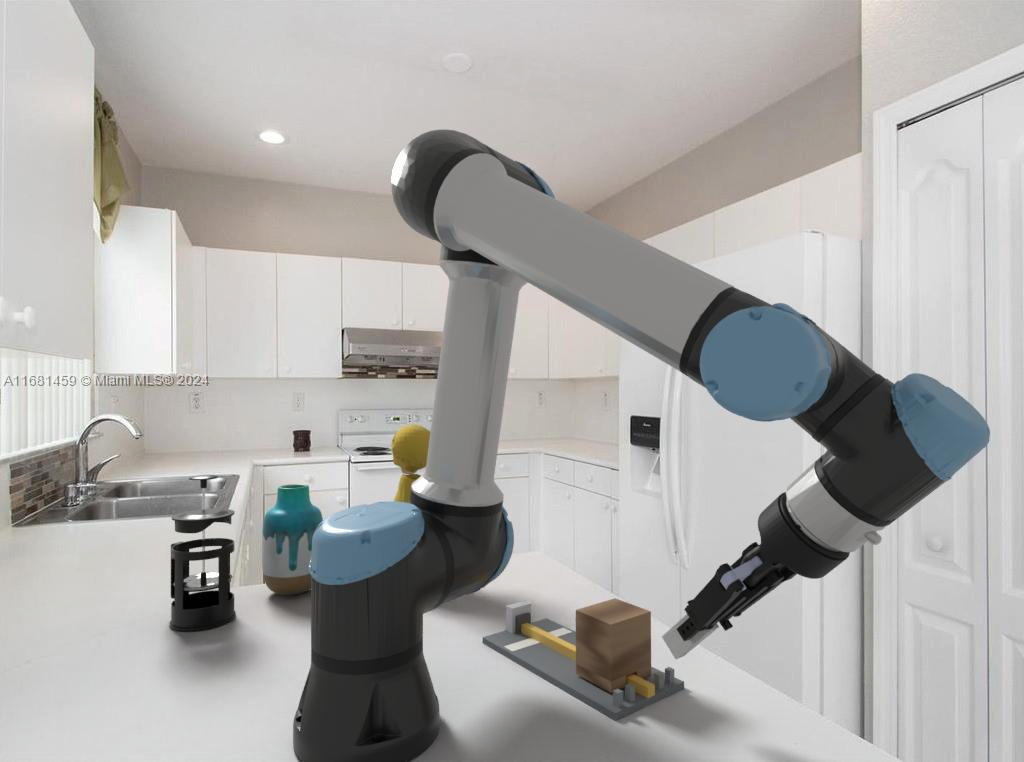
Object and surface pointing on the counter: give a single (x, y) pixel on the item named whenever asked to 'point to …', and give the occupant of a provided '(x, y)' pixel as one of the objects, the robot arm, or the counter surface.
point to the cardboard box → (613, 643)
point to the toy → (409, 456)
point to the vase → (289, 540)
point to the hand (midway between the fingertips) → (673, 646)
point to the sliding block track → (573, 664)
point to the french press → (206, 605)
